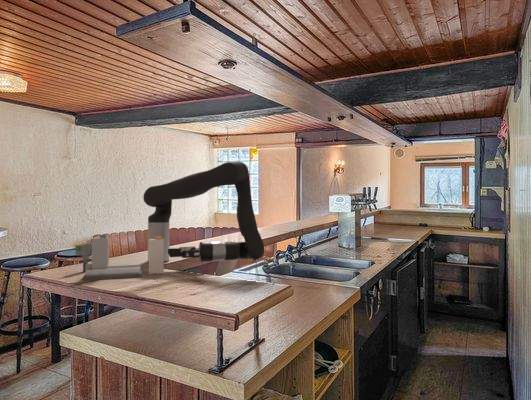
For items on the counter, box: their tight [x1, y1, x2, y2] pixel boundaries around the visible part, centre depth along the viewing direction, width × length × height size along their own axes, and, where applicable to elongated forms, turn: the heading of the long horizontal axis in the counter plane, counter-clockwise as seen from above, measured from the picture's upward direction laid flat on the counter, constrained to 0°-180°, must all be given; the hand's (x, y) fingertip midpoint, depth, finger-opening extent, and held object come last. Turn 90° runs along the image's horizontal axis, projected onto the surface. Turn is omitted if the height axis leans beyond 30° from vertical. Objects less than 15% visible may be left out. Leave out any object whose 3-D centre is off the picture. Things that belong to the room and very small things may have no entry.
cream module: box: [148, 237, 165, 275], centre depth 139 cm, size 4×5×13 cm
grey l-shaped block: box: [82, 234, 143, 281], centre depth 132 cm, size 12×18×14 cm, turn 108°
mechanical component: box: [74, 242, 92, 272], centre depth 142 cm, size 3×10×10 cm, turn 174°
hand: (168, 252), depth 141 cm, fingers open, 8 cm apart
